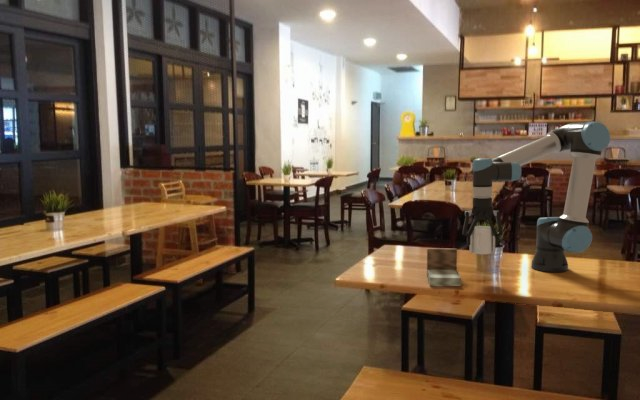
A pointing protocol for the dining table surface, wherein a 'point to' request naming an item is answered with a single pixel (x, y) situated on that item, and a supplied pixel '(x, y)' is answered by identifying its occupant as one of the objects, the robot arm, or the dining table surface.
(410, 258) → the dining table surface
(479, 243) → the mug
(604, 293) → the dining table surface
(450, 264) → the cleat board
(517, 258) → the dining table surface
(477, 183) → the robot arm
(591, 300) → the dining table surface
